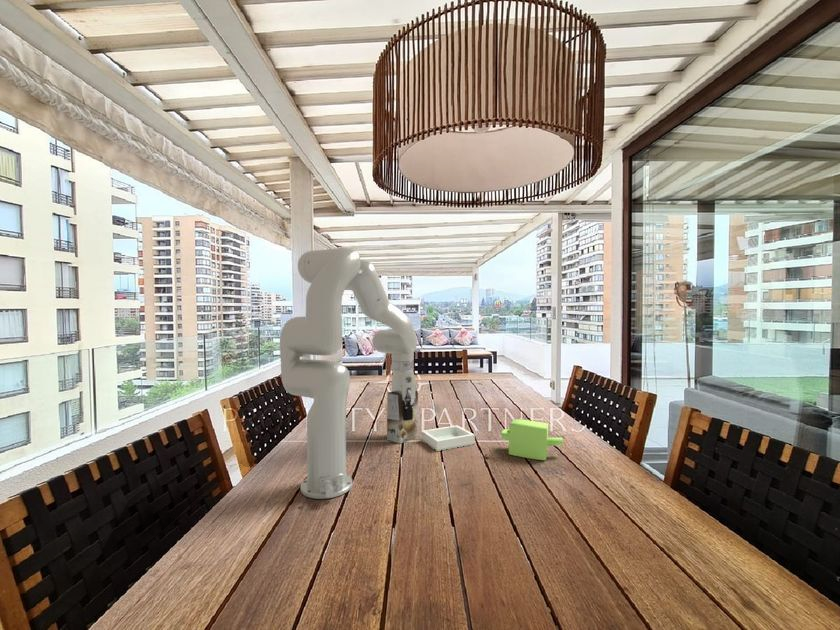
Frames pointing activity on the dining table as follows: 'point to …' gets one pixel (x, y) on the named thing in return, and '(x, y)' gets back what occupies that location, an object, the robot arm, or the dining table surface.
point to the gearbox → (529, 439)
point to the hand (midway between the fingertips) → (402, 416)
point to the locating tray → (448, 437)
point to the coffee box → (400, 419)
